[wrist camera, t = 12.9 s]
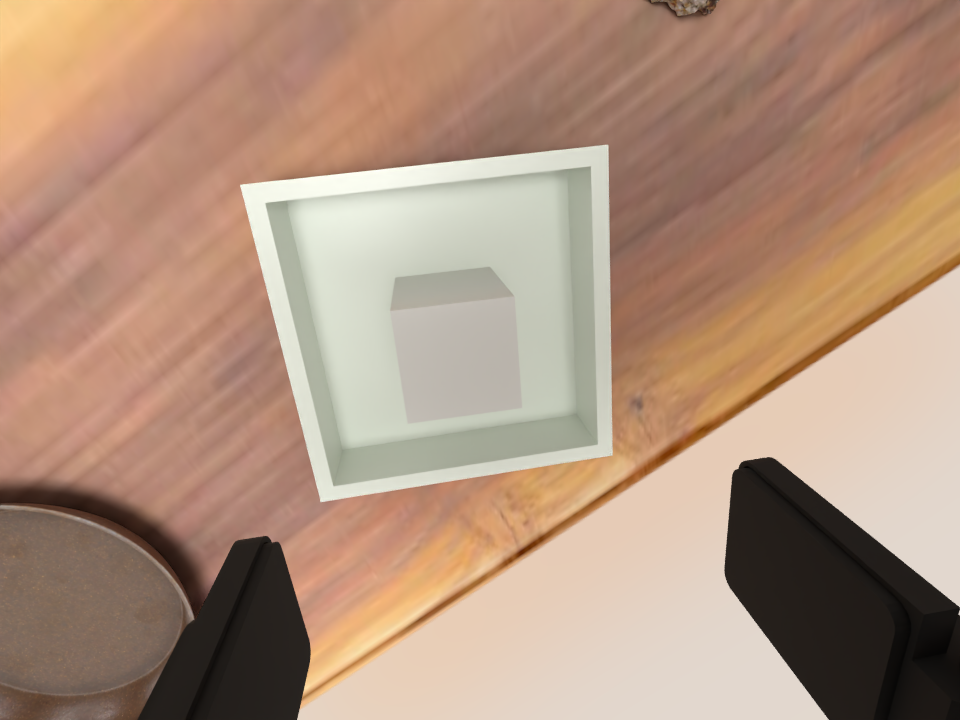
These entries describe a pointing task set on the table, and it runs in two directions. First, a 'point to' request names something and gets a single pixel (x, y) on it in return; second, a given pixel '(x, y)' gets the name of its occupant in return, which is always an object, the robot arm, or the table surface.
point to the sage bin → (433, 249)
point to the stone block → (456, 344)
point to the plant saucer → (81, 615)
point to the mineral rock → (690, 6)
